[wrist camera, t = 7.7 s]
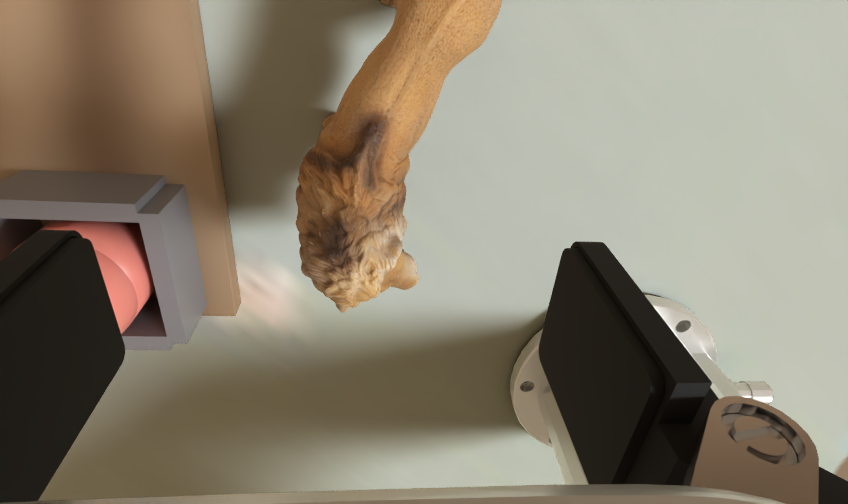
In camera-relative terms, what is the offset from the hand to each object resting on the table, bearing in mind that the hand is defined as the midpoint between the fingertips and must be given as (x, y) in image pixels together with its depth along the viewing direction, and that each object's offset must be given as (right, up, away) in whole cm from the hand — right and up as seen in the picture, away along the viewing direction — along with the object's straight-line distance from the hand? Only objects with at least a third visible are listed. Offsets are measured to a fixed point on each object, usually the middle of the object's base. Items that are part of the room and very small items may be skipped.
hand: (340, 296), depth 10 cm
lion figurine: (+1, +8, +12) cm, 14 cm away
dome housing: (-13, +1, +13) cm, 18 cm away
